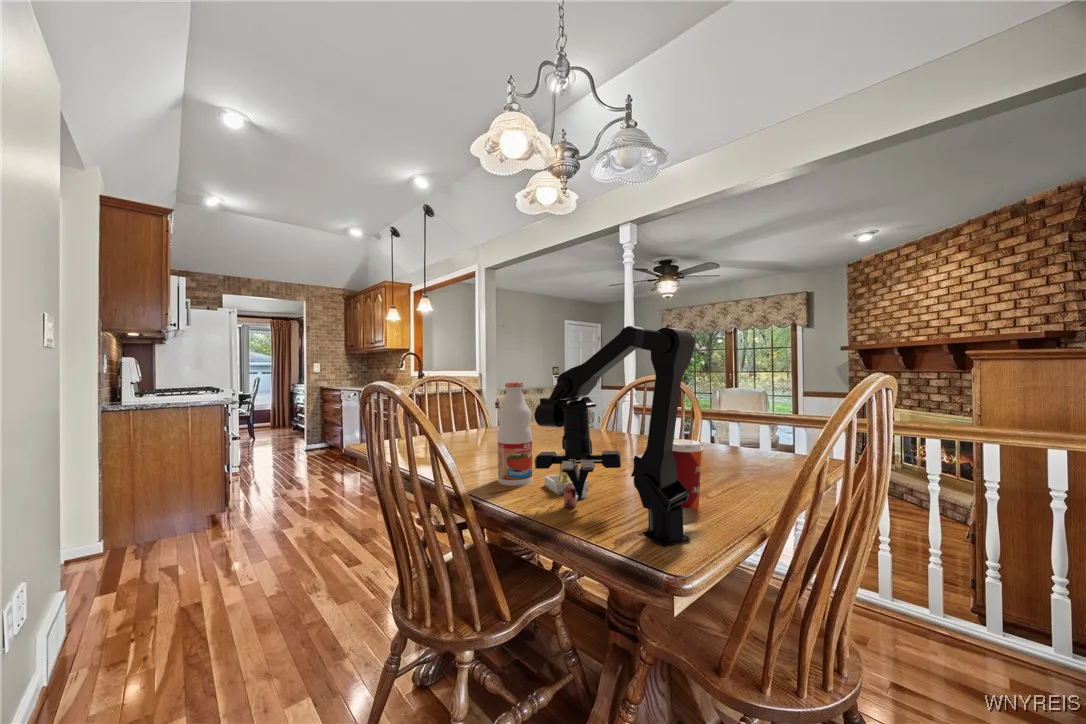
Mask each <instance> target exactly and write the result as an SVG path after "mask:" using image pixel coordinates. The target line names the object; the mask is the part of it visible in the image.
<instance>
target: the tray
mask: <svg viewBox="0 0 1086 724" xmlns="http://www.w3.org/2000/svg"><path fill="white" fill-rule="evenodd" d="M568 483H572V482H568ZM568 483H560V484H559V474H553V475H552V474H551V475H546V476H545V475H544V486H545V487H546V488H547V489H549V490H550V491H551V492H552V493H553V494H555V495H556V496H557V495H558V496H559V495H564V488H566V486H567V485H568ZM574 488H575V487H574ZM584 490H586V491H587V492H588V491H589V480H587V479H586V482H585V486H584Z"/></svg>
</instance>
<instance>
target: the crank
mask: <svg viewBox="0 0 1086 724" xmlns="http://www.w3.org/2000/svg"><path fill="white" fill-rule="evenodd" d="M587 492H588V491H586V490H583V494H582V499H579V496H578V494H577V492H576V489H575V488H574V485H573V483H568V485H567V486H566V488H564V494H563V506H564V508H565V509H575V508H576V507H577V505H576V504H577V502H578V500H584V499H587V497H588V496H587V494H588V493H587Z"/></svg>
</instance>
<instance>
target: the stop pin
mask: <svg viewBox="0 0 1086 724" xmlns="http://www.w3.org/2000/svg"><path fill="white" fill-rule="evenodd" d="M569 460H570V459H569ZM572 460H573V459H572ZM562 469H563V466H562V464H559V472H558V473H559V474H558V475H559V484H560V483H568V482H572V481H571V479H570V478H569V476H568V474H567V473H566V472H562Z"/></svg>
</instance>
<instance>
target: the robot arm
mask: <svg viewBox="0 0 1086 724" xmlns="http://www.w3.org/2000/svg"><path fill="white" fill-rule="evenodd" d="M695 347H696V339H695V338H694V336H693V334H692V333H691V332H689V330H687V329H684V328H683V329H682V328H674V327H662V328H660V329H657V330H654V329H647V328H643V327H641V326H633V325H629V326H625V327H624V328H622V329H621V330H620V332H619V333H618V334H617V335H615V336H614V337H613V338H612V339H611V340H610V341H609V342H607V344H604V346H602V347H601V349H599V350H598V351H597V352H595V353H594V354H593V355H592V356H591V357H589V358H588V359H587V360H586V361H585V362H583V363H582V364H580V365H579V364H578V365H576V366H573V367H571V368H569V369H567V370H566V371H563V372H561V373H560V374H559V375H558V377H557V379H556V381H557V382H556V384H555V385H554V388H553V390H552V392H551V394H550V397H543V398H539V404H537V406H536V408H535V410H534V411H535V412H534V421H535V422H536V424H537V425H538V426H539V427H544V428H549V427H550V428H562V427H563V436H562V441H561V447H562V450H564V455H557V453H556V451H541V452H540V453H539V454H537V455H536V456H535V458H534V468H535V469H537V470H539V469H540V470H542V469H543V470H544V469H545V470H546V469H547V470H548V469H550V468H551V466H552V465H560V464H562V466H563V469H562V472H566V473H567V474H568V476H569V478H570V479H571V481H572V483H573V485H574V487H575V489H576V492H577V494H578V496H579V499H580V500H583V499H582V494H583V490H584V486H585V482H586V480H587V478H588V475H589V473H593V472H594V470H595V468H596V464H601V465H602V466H603V468H605V469H619V468H622V453H621V452H620V451H619V450H603V451H602V452H601V454H593V442H592V440H591V436H590V435H591V434H590V421H589V420H590V419H589V409H590V408H596V407H597V404H596V403H595V402H594V401H593V400H592V399H591V398H590V397H589V396H588V395H589V394H591V392H592V390H594V389H595V387H597V384H598V382H599V380H600V378H602V376H604V375H605V374H606V373H608V371H610V370H611V369H612V368H614V367H615V366H616V365H618V364H619V363H620V362H621V361H622V360H624V359H625V358H626V357H628V356H629V355H630V354H632V353H633V352H634V351H636V350H637V349H641V350H645V351H650V361H651V364H652V367H653V370H654V374H655V379H654V388H653V395H652V401H651V402H652V404H651V410H650V411H651V412H650V419H649V427H648V428H649V429H648V434H647V444H646V448H645V450H644V452H643V453H640V454H637V455H634V458H633V470H632V473H631V475H630V477H632V478H633V486H634V488H635V489H636V490H637V492H638V495H639V498H640V501H641V504H642V507H643V509H645V510H648V528H649V530H648V531H647V530H646V531H643V532H642V535H644V536H645V537H647V538H649V539H650V540H651V541H653V542H654V543H656V544H658V545H659V546H662V547H665V546H671V545H676V544H681V543H685V542H690V541H691V537H690V536H689V535H686V534H685V533H684V508H682V507H681V505H680V504H682V503H684V502H687V499H688V497H689V491H688V490H687V489H686V487H685V486H684V485H683V484H682V483H681V481H680V480H679V479H678V478H677V464H676V461H675V458H674V455H673V451H672V448H673V440H675V433H676V432H675V430H676V422H677V416H678V408H679V401H680V395H681V394H680V392H681V387H682V386H681V385H682V379H683V376H684V374H685V373H686V372H687V369H688V367H689V365H690V364H691V361H692V357H693V354H694V350H695ZM580 398H581V399H580ZM569 459H570V460H569ZM572 459H573V460H572ZM579 465H581V467H580V468H579Z"/></svg>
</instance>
